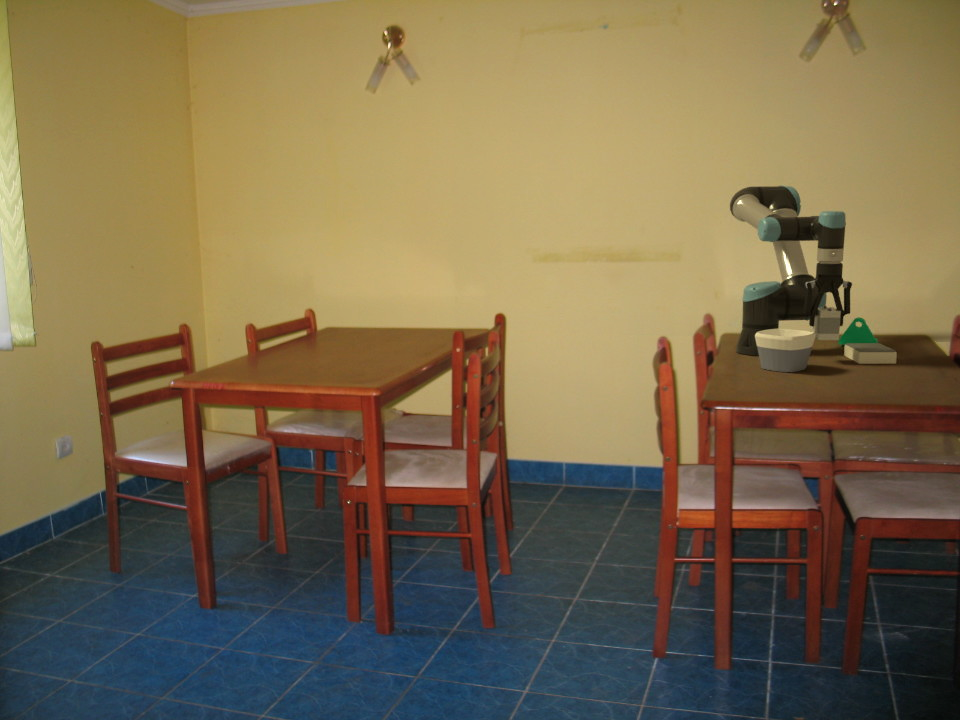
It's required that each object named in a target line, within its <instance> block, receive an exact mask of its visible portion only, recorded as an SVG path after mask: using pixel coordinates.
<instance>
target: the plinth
mask: <svg viewBox="0 0 960 720" xmlns="http://www.w3.org/2000/svg"><path fill="white" fill-rule="evenodd" d="M843 351H844V353H843V356H844V357H847V358H848V359H850V360H852V361H854V362H855V363H857V364H859V365H860V364H861V365H862V364H864V365H865V364H869V365H871V364H873V365H875V364H876V365H877V364H879V365H880V364H881V365H884V364H887V365H888V364H897V351H896V350H895V349H893V348H891V347H888V346H886V345H884V344H881V343H880V342H878V343H846V345H844V349H843Z"/></svg>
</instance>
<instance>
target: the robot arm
mask: <svg viewBox="0 0 960 720" xmlns="http://www.w3.org/2000/svg"><path fill="white" fill-rule="evenodd" d="M801 203H802V202H801V196H800V194H799V192H798V191H797V189H796V188H795V187H794V186H789V185H777V186H769V185H767V186H746V187H745V188H742V189H740V190H738V191H737V192H735V194H734V195H733V196H732V198H731V200H730V203H729V211H730V212H731V215H732V216H733V217H734V218H735V219H736V220H737V221H740V222H744V223H748V224H749V225H750V226H752V227H753V228H754V229H756V230H757V236H758V239H759V240H760V241H761V242H770V243H772V244H773V249H774V252H775V258H776V260H777V264H778V268H779V273H780V275H781V282H780V281H777V280H776V281H774V280H772V281H761V282H760V281H759V282H755V283H750V284H748V285H746V286H745V287H744V289H743V294H742V299H741V300H742V318H741V319H742V321H741V322H742V323H741V325H742V326H741V330H740V334H739V337H738V340H737V342H736V345H735V352H736V354H741V355H746V356H758V357H759V353H758V348H757V344H756V339H755V334H756V333H757V332H759V331H763V330H770V329H780V328H779V326H780V321H809V322H808V323H809V324H808V325H809V327H811V332H814V333H815V337H817V322H818V316H816V312H817V309H818V307H823V306H827V293H831V294H832V296H833V301H834V304H835V308H836V309H838V310H840V311H841V315H840V324H839V331H840V327H843V325H844V317H845V316H846V315H850V314H851V288H852V286H853V283H852V282H851V281H848V280H847V281H846V280H844V279H843V268H844V267H843V261H844V247H845V236H846V225H847V222H846V213H845V212H844V211H842V210H841V211H840V210H838V211H837V210H825V211H823V210H822V211H821V212H820V213H819V215H811V216H800V213H801V207H802V205H801ZM805 241H806V242H809V241H811V242H812V241H814V242H815V241H816V242H817V252H816V261H817V263H816V267H815V268H816V269H815V276H813V275H812V274H810V273H809V271H808V267H807V263H806V260H805V255H804V253H803V249H802V246H801V244H802V243H801V242H805ZM841 286H842V288H843V304H842V302H841V297H840V291H839V288H841Z"/></svg>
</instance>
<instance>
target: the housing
mask: <svg viewBox="0 0 960 720" xmlns="http://www.w3.org/2000/svg"><path fill="white" fill-rule="evenodd" d="M840 315H841V311H840V310H838V309H836V307H833V306H827V305H826V306H823V307H818V309H817V312H816V316H818V322H817V337H815V340H818V341H839V339H840V330H839V324H840Z"/></svg>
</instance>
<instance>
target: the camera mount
mask: <svg viewBox="0 0 960 720" xmlns="http://www.w3.org/2000/svg"><path fill="white" fill-rule="evenodd" d="M858 322H859V323H860V324H861V326H858V325H857V323H858ZM878 340H879V339H878V338H876V337H875V335H874V334H873V332H872V331H871V329H870V327H869V325H868V324H867V322H866V320H865V319H864V318H863V317H858V316H857V317H856V318H854V319H853V320H852V321H851V323H850V324H849V325H848V327H847V328H846V329H845V331H844V332H843V333H842V334H841V336H839V340H838V345H844V346H845V345H846V343H879V342H878Z"/></svg>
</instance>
